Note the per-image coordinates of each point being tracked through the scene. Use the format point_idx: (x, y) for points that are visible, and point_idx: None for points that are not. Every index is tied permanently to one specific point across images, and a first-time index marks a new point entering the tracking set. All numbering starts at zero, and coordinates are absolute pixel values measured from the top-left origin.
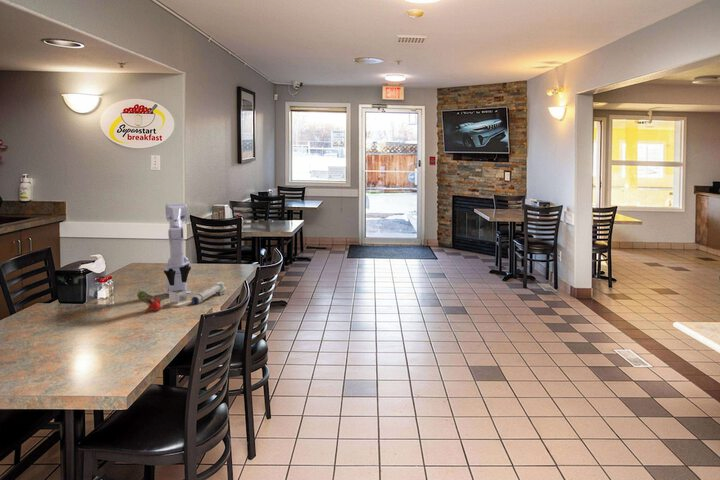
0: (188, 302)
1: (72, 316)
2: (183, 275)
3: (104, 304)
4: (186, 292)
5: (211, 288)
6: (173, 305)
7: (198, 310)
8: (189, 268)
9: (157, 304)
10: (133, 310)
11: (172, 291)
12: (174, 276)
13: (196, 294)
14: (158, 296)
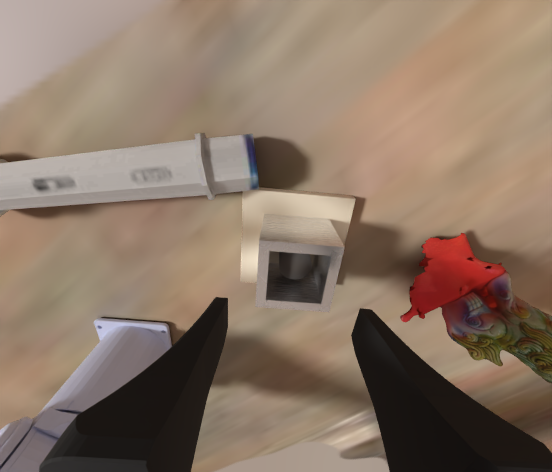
0: (278, 191)
1: (537, 411)
2: (207, 370)
3: (378, 424)
4: (261, 235)
5: (39, 175)
6: (345, 231)
7: (392, 14)
8: (113, 427)
9: (467, 256)
10: (443, 325)
11: (311, 302)
12: (413, 378)
13: (208, 187)
14: (465, 291)
